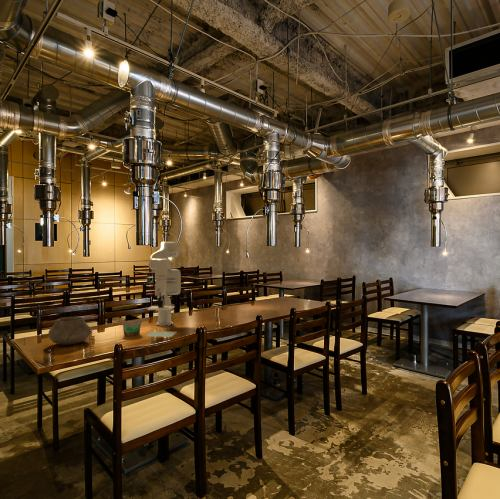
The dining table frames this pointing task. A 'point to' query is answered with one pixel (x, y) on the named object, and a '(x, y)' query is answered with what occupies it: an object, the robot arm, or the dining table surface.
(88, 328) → the grey rounded lump
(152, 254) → the robot arm
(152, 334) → the mat
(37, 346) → the dining table surface
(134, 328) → the food container
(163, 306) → the lid
